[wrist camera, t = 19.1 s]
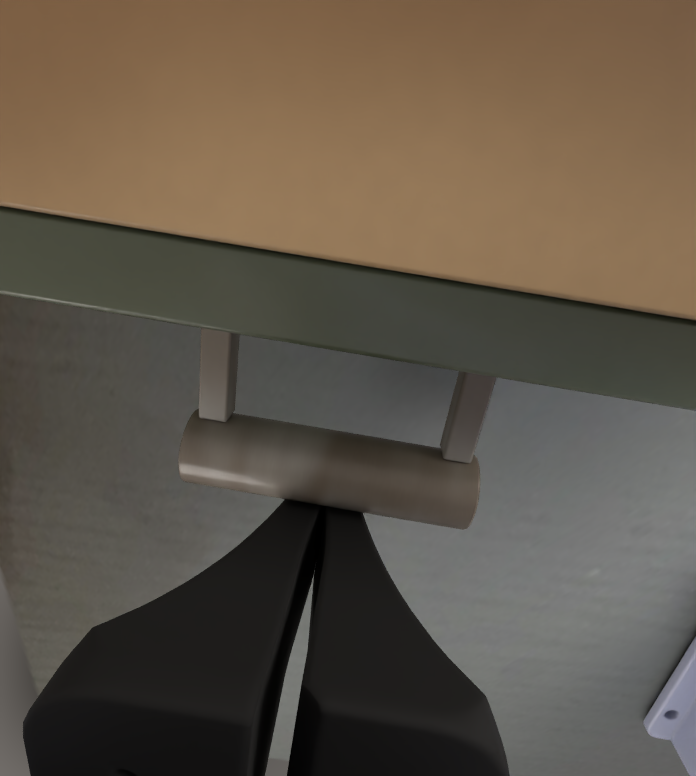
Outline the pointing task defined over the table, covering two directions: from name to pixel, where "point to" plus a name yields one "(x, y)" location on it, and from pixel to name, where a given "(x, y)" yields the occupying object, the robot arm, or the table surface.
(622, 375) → the drawer
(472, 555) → the table surface
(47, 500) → the table surface
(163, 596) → the robot arm
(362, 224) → the cabinet
